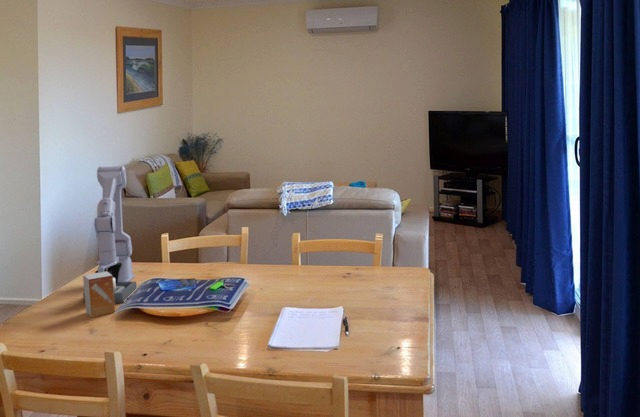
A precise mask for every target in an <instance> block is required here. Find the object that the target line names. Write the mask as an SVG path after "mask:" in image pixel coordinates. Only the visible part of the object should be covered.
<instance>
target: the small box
mask: <svg viewBox="0 0 640 417" xmlns="http://www.w3.org/2000/svg"><path fill="white" fill-rule="evenodd" d="M82 281H83V289H84V291H83V293H84V292H85V313H86V314H87V315H88V316H89V317H90V318H93V317H99V316H104V315H110V314H115V313H116V305H115V304H116V303H115V302H114V289H113V276H112V275H111V274H110V273H108V272H107V271H106V272H101V273H95V272H94V273H90V274H84V275H82ZM114 312H115V313H114Z"/></svg>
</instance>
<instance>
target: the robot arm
mask: <svg viewBox="0 0 640 417" xmlns="http://www.w3.org/2000/svg"><path fill="white" fill-rule="evenodd" d="M96 175H97V176H96V178H97V182H98V183H99V185H100V186H101V188H102V199H100V201H99V202H98V208H97V214H96V215H97V217H96V218H94V223H93V224H94V225H93V226H94V231H95V237H96V239H97V244H98V245H97V246H98V247H97V248H98V257H99V260H98V261H96V265H98V266H97V270H95V271H94V273H101V272H106V271H107V272H108V273H110V274H112V276H113V277H114V278H115V280H116V284H117V282H118V281H131V280H133V278H134V277H135V276H136V274H133V263H132V262H133V261H132V259H131V256H132V255H133V254H132V253H133V244H132V238H131V236H130V235H129V234H128V233H126V232H124V228H123V227H124V225H123V224H124V223H123V205H122V204H123V203H122V201H123V200H122V192H123V189H125V188H127V184H128V183H127V182H128V181H127V169H126V167H125V166H124V165H118V166H98V167H97V171H96Z"/></svg>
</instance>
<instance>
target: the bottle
mask: <svg viewBox="0 0 640 417" xmlns="http://www.w3.org/2000/svg"><path fill="white" fill-rule="evenodd" d="M111 275H112V274H111ZM113 289H114V292H116V280H115V278H114V277H113Z"/></svg>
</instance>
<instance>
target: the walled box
mask: <svg viewBox="0 0 640 417" xmlns="http://www.w3.org/2000/svg"><path fill="white" fill-rule="evenodd" d="M136 288H137V289H138V287H137V281H134V280H133V281H131V280H130V281H118V282H117V284H116V292H114V302H115V304H124V303H125V302H124V300H125V299H126V298H127V297H128V296H129V295H130V294H131V293H132V292H133V291H134V290H135V289H136ZM123 302H124V303H123ZM83 303H85V292H84V291H83Z"/></svg>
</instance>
